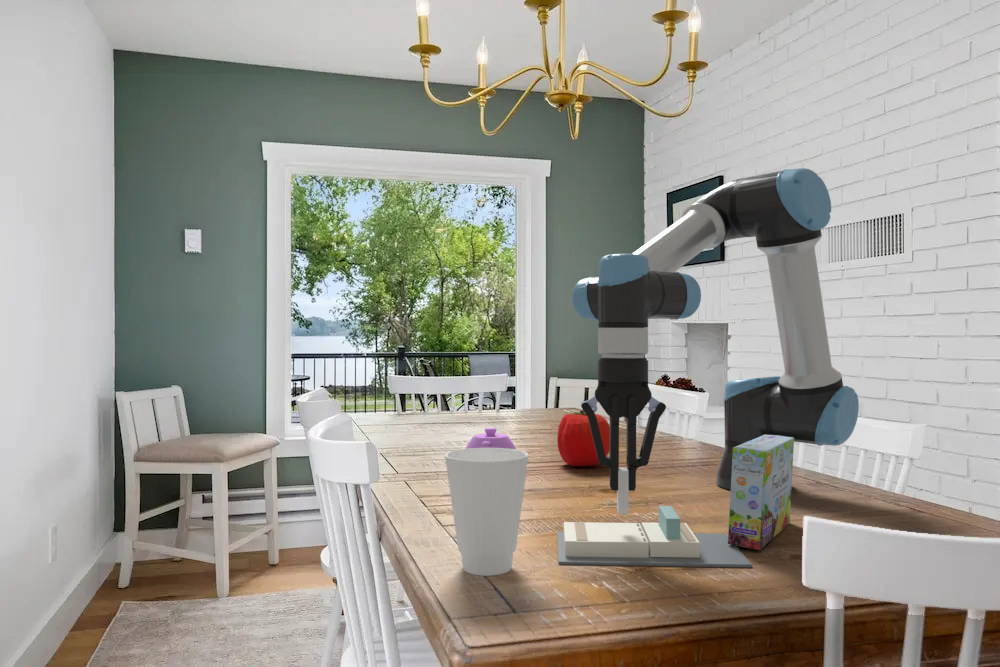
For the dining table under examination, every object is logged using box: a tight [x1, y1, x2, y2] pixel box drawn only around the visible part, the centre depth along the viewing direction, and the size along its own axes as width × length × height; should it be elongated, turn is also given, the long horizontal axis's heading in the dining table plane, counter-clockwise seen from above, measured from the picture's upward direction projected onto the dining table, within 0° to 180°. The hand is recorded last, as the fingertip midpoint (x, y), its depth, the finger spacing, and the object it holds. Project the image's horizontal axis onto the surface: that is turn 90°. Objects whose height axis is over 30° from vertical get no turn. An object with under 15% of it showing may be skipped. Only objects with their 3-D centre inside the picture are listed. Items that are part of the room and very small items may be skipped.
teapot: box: [465, 427, 517, 450], centre depth 177 cm, size 14×20×11 cm
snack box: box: [727, 435, 795, 551], centre depth 121 cm, size 21×6×15 cm, turn 148°
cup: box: [444, 448, 530, 577], centre depth 105 cm, size 12×12×16 cm
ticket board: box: [556, 521, 753, 568], centre depth 114 cm, size 27×16×3 cm, turn 86°
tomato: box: [556, 409, 610, 468], centre depth 184 cm, size 16×14×14 cm
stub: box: [640, 505, 700, 558], centre depth 114 cm, size 7×11×5 cm, turn 176°
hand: (622, 511), depth 114 cm, fingers closed
